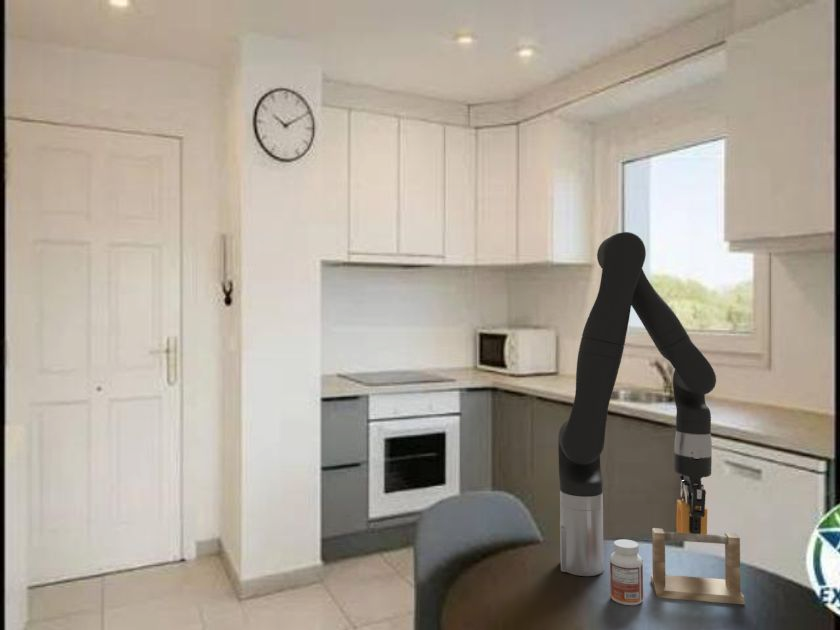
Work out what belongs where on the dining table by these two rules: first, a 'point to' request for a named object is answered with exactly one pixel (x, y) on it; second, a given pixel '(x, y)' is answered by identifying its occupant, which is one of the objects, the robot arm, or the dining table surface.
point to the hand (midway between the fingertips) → (691, 528)
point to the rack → (697, 586)
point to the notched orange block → (683, 518)
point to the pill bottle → (626, 573)
